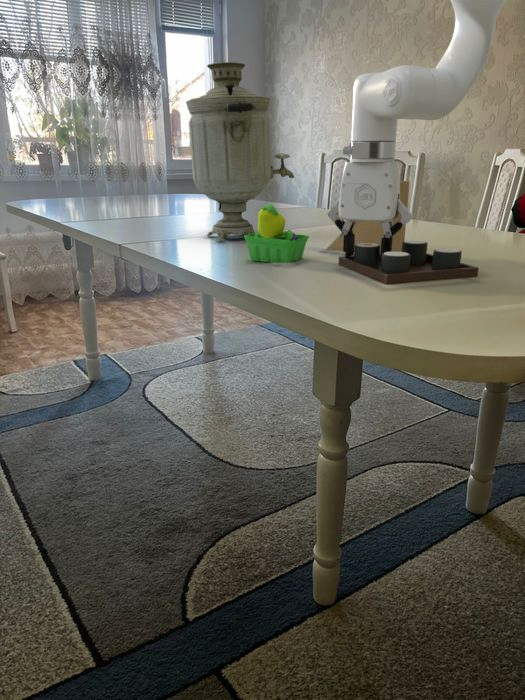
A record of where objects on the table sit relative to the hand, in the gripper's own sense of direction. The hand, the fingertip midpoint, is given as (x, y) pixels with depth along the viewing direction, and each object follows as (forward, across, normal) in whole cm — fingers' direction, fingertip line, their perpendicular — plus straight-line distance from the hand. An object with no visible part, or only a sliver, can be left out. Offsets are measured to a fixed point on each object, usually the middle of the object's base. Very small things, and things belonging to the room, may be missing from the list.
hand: (366, 256), depth 100 cm
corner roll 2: (+2, +7, +7) cm, 10 cm away
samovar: (+3, -40, +26) cm, 48 cm away
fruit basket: (+3, -19, +1) cm, 19 cm away
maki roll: (+2, 0, 0) cm, 2 cm away
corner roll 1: (+2, +7, -7) cm, 10 cm away
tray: (+3, +7, 0) cm, 8 cm away
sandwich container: (+3, -6, +19) cm, 20 cm away
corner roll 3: (+2, +14, 0) cm, 14 cm away
